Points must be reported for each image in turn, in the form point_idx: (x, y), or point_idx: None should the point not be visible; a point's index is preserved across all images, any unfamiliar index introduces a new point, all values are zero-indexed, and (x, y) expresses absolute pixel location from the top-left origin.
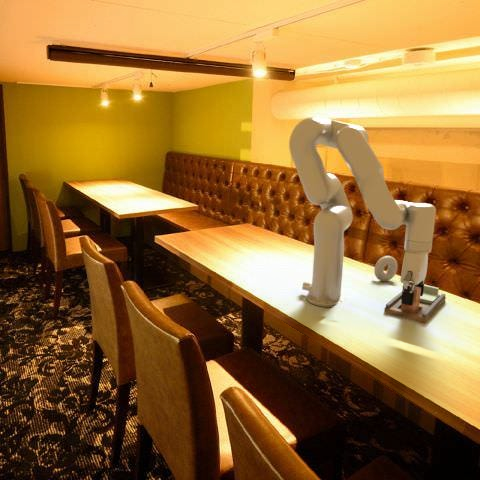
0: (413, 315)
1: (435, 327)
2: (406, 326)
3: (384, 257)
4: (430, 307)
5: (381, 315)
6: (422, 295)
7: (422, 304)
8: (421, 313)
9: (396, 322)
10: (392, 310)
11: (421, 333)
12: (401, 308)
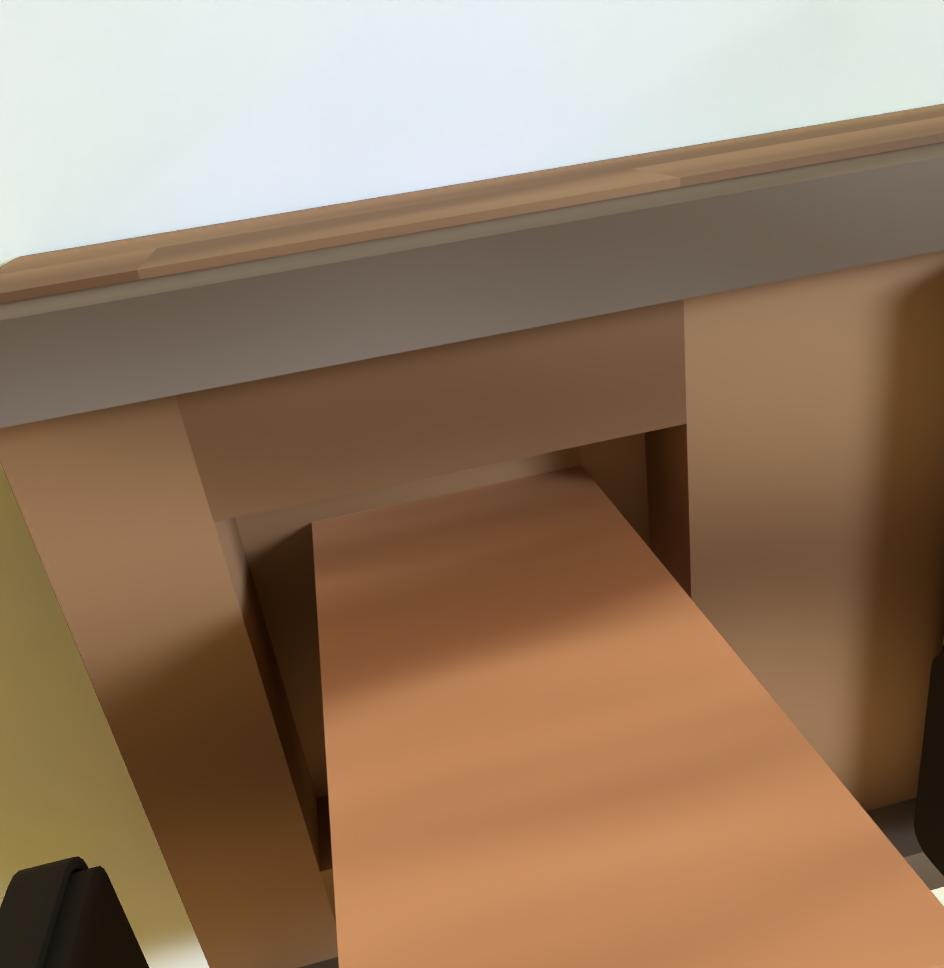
0: (179, 889)
1: None
2: (52, 735)
3: None
4: None
5: (38, 176)
6: (939, 853)
7: (832, 695)
8: None
9: (31, 563)
10: (28, 506)
11: None
12: (315, 578)
